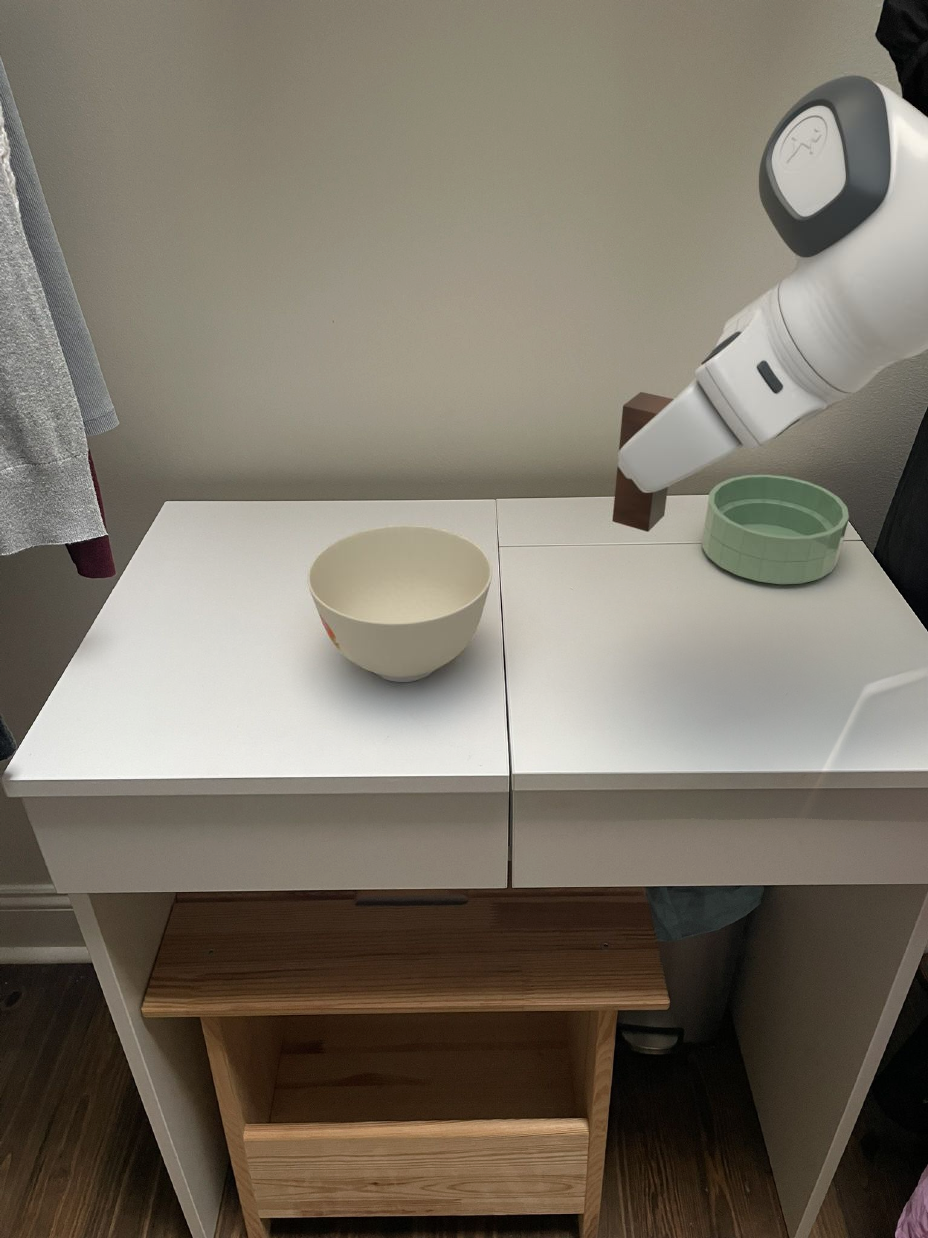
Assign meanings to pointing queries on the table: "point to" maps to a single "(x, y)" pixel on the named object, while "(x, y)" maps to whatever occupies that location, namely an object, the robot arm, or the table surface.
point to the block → (629, 499)
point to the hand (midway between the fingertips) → (638, 457)
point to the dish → (774, 528)
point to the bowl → (400, 597)
